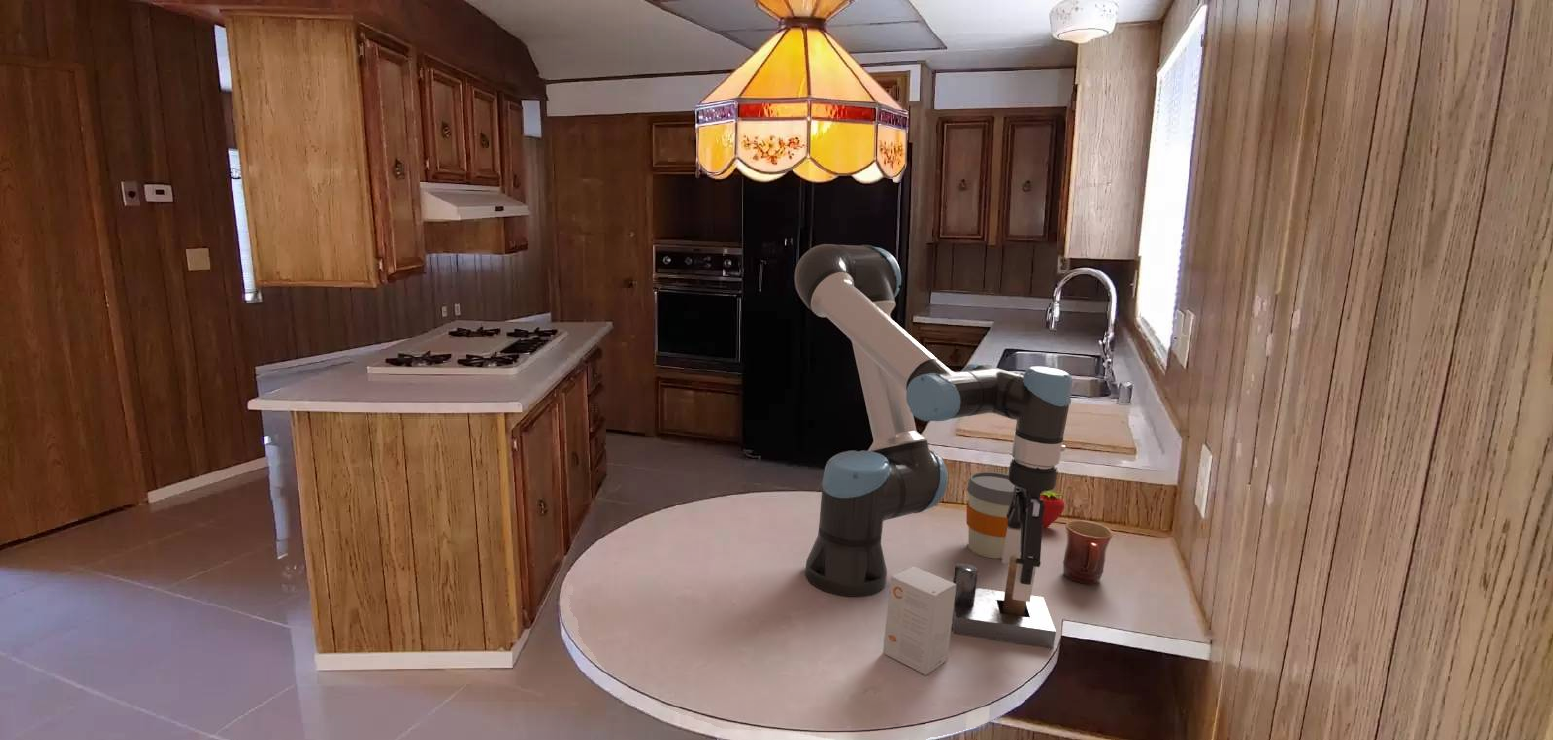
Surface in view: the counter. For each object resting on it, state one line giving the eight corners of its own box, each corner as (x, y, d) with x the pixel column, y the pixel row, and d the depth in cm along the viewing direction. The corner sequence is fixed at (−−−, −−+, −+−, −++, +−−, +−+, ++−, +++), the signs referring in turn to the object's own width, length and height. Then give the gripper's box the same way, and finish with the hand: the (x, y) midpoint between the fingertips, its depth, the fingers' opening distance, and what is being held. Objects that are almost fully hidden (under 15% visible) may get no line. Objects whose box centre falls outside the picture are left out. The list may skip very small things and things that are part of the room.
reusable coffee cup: (1025, 566, 161) (1035, 495, 158) (961, 557, 162) (971, 487, 159) (1016, 541, 173) (1026, 475, 170) (957, 533, 174) (966, 468, 172)
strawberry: (1023, 521, 185) (1029, 480, 183) (1053, 522, 186) (1059, 481, 184) (1035, 532, 179) (1042, 490, 177) (1066, 532, 180) (1073, 490, 178)
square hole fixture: (950, 633, 132) (957, 583, 130) (946, 599, 144) (952, 553, 142) (1053, 648, 130) (1061, 597, 128) (1040, 612, 142) (1048, 565, 140)
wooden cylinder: (1001, 628, 135) (1011, 562, 133) (999, 618, 138) (1009, 553, 136) (1023, 631, 134) (1033, 565, 132) (1020, 621, 138) (1030, 556, 136)
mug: (1055, 564, 162) (1062, 517, 160) (1100, 571, 161) (1108, 524, 159) (1063, 591, 151) (1072, 540, 149) (1112, 598, 149) (1121, 547, 147)
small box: (947, 661, 124) (958, 583, 121) (925, 676, 119) (935, 596, 116) (904, 639, 129) (913, 564, 126) (881, 653, 124) (890, 576, 122)
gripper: (1074, 491, 118) (1051, 621, 123) (1045, 443, 142) (1026, 553, 147) (1022, 484, 119) (1001, 613, 124) (1002, 437, 143) (985, 547, 148)
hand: (1015, 580), depth 135 cm, fingers open, 13 cm apart
